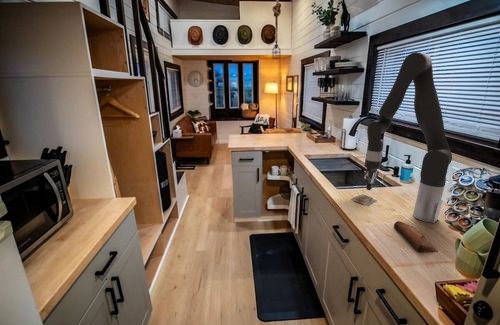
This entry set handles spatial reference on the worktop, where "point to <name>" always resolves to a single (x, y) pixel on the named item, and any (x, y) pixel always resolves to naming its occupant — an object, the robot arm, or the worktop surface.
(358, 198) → the tile
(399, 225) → the sunglasses case
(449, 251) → the worktop surface
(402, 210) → the worktop surface
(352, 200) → the mat
